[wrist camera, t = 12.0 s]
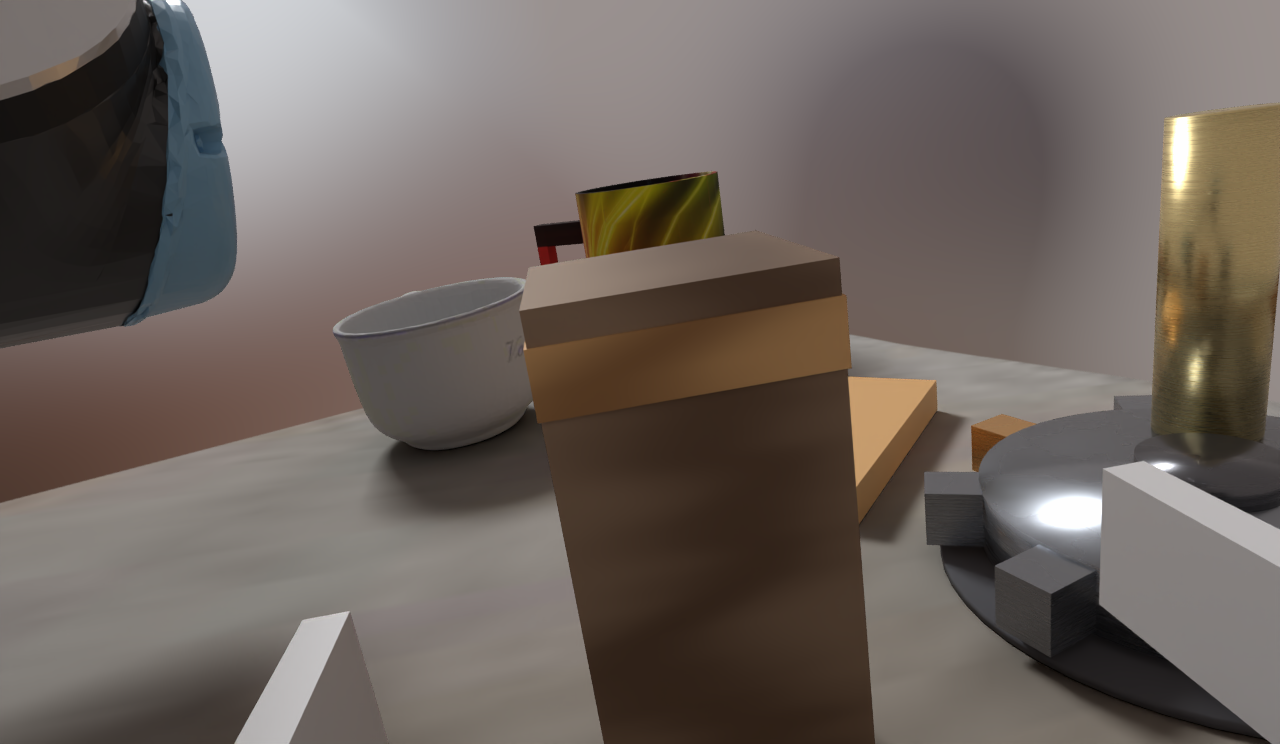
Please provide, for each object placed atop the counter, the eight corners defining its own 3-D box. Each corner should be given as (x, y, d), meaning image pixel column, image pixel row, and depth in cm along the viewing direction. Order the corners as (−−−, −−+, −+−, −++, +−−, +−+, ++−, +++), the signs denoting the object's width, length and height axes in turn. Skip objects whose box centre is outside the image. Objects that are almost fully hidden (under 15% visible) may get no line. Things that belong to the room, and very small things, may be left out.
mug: (558, 351, 60) (529, 197, 56) (733, 328, 58) (714, 169, 55) (534, 389, 50) (499, 207, 47) (742, 363, 49) (720, 174, 46)
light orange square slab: (594, 485, 34) (588, 455, 34) (718, 395, 43) (715, 371, 43) (857, 526, 27) (854, 488, 27) (937, 409, 36) (936, 380, 36)
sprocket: (1421, 878, 13) (1561, 128, 9) (829, 531, 26) (798, 175, 23) (1736, 563, 18) (1892, 31, 15) (1117, 412, 32) (1127, 114, 28)
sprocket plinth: (885, 648, 21) (885, 638, 21) (985, 445, 32) (984, 438, 32) (1752, 858, 13) (1757, 845, 13) (1479, 487, 24) (1480, 479, 24)
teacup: (568, 438, 40) (541, 292, 38) (359, 487, 38) (316, 334, 36) (533, 376, 53) (511, 264, 51) (375, 410, 51) (345, 294, 49)
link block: (634, 911, 15) (516, 312, 11) (613, 724, 20) (526, 267, 16) (886, 854, 15) (843, 256, 12) (804, 685, 20) (757, 230, 17)
